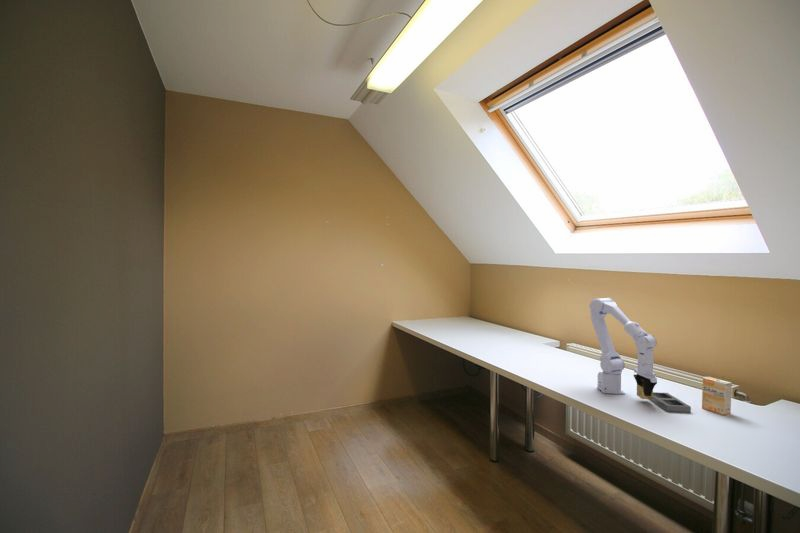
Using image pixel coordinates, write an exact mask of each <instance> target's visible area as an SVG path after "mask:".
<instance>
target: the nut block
mask: <svg viewBox="0 0 800 533" xmlns="http://www.w3.org/2000/svg"><path fill="white" fill-rule="evenodd" d="M653 392H654V390H653V391H652V394H651V396H645V394H644V387H643V384H637V383H636V396H637V397H638V398H640V399H642V400H649V399H653Z"/></svg>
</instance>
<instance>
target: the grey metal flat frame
mask: <svg viewBox="0 0 800 533" xmlns="http://www.w3.org/2000/svg"><path fill="white" fill-rule="evenodd" d="M648 400H649V401H650V402H652V403H653V404H654V405H656V406H658V407H659V408H661V409H662V410H663V411H665V412H667V413H684V414H685V413H687V414H691V412H692V408H691V407H692V406H690V405H689V404H687V403H685V402H683V401H682V400H680V399H678V398H677V397H676V396H673V395H672V394H670V393H669V392H655V391H653V399H648Z"/></svg>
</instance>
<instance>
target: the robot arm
mask: <svg viewBox="0 0 800 533" xmlns="http://www.w3.org/2000/svg"><path fill="white" fill-rule="evenodd" d="M588 307H589V309H590V319H591V322H592V325H593V329H594V331H595V335H596V338H597V341H598V344H599V347H600V350H601V353H600V354H601V355H600V356H599V359H600V360H599V362H600V369H601V370H602V371H598V373H597V386H596V389H598V390H599V391H600V390H601V391H600V392H601V393H603V394H615V395H616V394H617V395H625V394H626V393H625V392H624V391H623V390H622V372H623V370H624V369H625V366H626V364H625V361H624V360H623V358H622V357H621V354H620V353H618V352H617V351H616V349H615V347H614V344H613V342H612V338H611V336H610V333H609V329H608V326H607V322H606V321H605V318H606V317H607V315H608V314H610V315H612V317H614V318H615V319H616V320H617V321H618V322H619V323H620V324H621V325H623V327H624V328H623V330H624V331H625V333H627V334H628V335H629V336H630V337H631V338H632V340H634V344H635V346H636V348H637V367H633V368H634V369H633V372H634V374H633V377H634V379H635V382H636V385H637V384H643V387H644V394H645V396H651V394H652V391H653V392H654V388H655V386H656V385H657V384H658V380H657V379H658V378H657V377H656V376H657V374H656V373H655V372H654V353H655V352H654V349H655V347H656V346H657V345H658V344H657V343H658V341H657V339H656V337H655V336H654V335H652V334H650V333H648V331H645V330H644V329H643V328H642V327H641V326H640V324H639V322H636V321H631V320H630V319H629V318H628V316H626V314H625V313H624V312H623V311H622V310H621V309H620V308H619V307H618V305H617V302H616V301H614V299H612V298H611V297H605V298H604V297H603V298H598V297H597V298H593V299H592V300H590V303H589V306H588ZM635 373H636V374H635Z"/></svg>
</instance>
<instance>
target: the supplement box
mask: <svg viewBox="0 0 800 533" xmlns="http://www.w3.org/2000/svg"><path fill="white" fill-rule="evenodd" d="M732 384H733V383H732V382H731V381H727V380H722V379H719V378H715V377H711V376H704V377H702V392H701V393H702V394H701V397H702V398H701V409H702V410H706V411H710V412H712V413H716V414H719V415H721V416H728V415H731V411H732V409H731V408H732V407H731V406H732V387H733V385H732Z"/></svg>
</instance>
